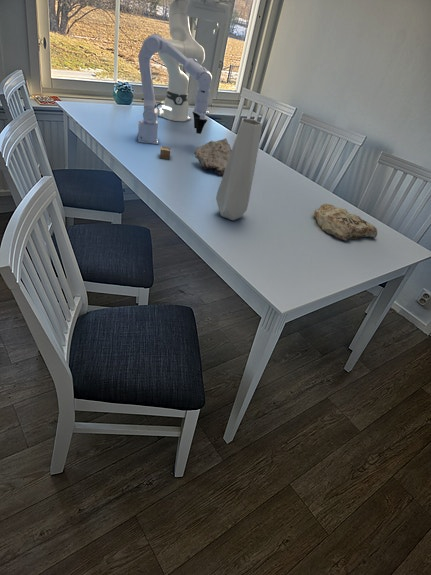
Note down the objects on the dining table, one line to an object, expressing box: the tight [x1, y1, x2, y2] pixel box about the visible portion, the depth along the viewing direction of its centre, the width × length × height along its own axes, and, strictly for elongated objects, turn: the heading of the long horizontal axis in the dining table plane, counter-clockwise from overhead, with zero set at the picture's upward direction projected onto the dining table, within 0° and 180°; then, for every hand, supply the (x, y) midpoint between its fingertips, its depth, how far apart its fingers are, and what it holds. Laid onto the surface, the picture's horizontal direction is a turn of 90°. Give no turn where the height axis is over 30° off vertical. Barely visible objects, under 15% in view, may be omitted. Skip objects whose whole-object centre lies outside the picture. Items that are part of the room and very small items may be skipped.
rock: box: [193, 138, 232, 176], centre depth 167 cm, size 15×17×15 cm
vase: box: [215, 117, 263, 221], centre depth 128 cm, size 12×12×33 cm
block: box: [159, 146, 171, 161], centre depth 170 cm, size 4×4×4 cm
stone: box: [313, 203, 378, 242], centre depth 145 cm, size 19×6×25 cm
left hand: (197, 130), depth 181 cm, fingers open, 7 cm apart
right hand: (205, 32), depth 176 cm, fingers open, 8 cm apart
